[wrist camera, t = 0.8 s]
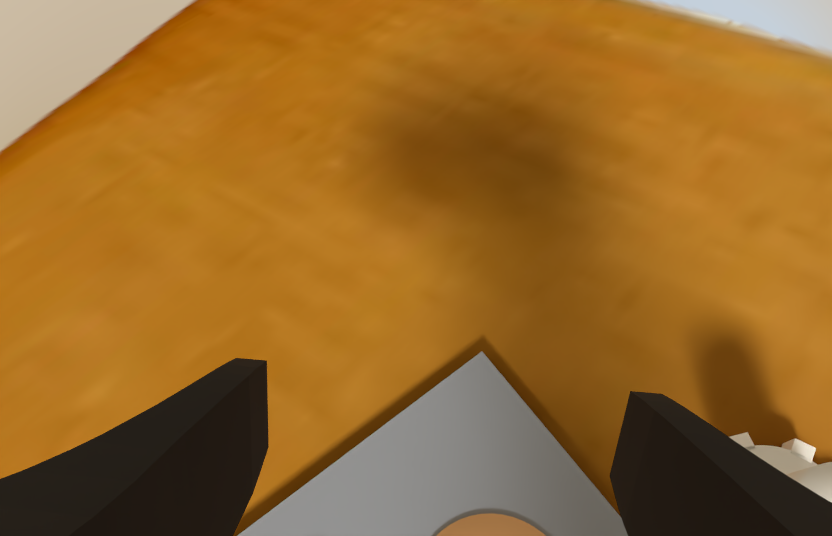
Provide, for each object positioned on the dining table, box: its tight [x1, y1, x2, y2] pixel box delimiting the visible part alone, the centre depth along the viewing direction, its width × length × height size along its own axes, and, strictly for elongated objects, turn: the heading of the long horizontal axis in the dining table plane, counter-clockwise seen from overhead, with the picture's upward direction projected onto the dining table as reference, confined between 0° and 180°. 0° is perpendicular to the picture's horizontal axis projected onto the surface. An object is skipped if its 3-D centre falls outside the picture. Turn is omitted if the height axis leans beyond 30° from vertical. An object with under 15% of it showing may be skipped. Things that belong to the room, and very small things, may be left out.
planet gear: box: [729, 432, 832, 503], centre depth 19 cm, size 6×6×6 cm
